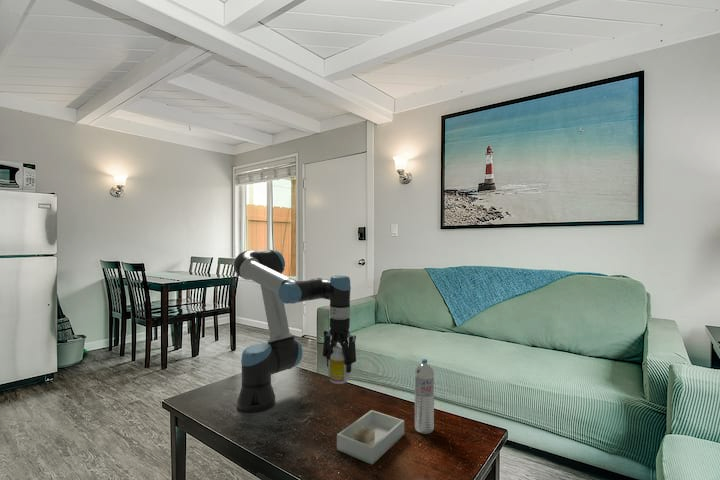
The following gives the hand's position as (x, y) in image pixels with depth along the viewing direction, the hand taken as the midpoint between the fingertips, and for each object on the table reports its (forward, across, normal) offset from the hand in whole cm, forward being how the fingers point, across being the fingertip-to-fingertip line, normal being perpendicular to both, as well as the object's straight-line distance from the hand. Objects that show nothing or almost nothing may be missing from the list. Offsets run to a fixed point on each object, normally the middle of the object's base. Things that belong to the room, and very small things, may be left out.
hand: (338, 378), depth 139 cm
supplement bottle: (+1, 0, 0) cm, 1 cm away
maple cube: (+14, +19, -11) cm, 26 cm away
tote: (+15, +19, -6) cm, 25 cm away
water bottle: (+15, +30, +12) cm, 36 cm away
